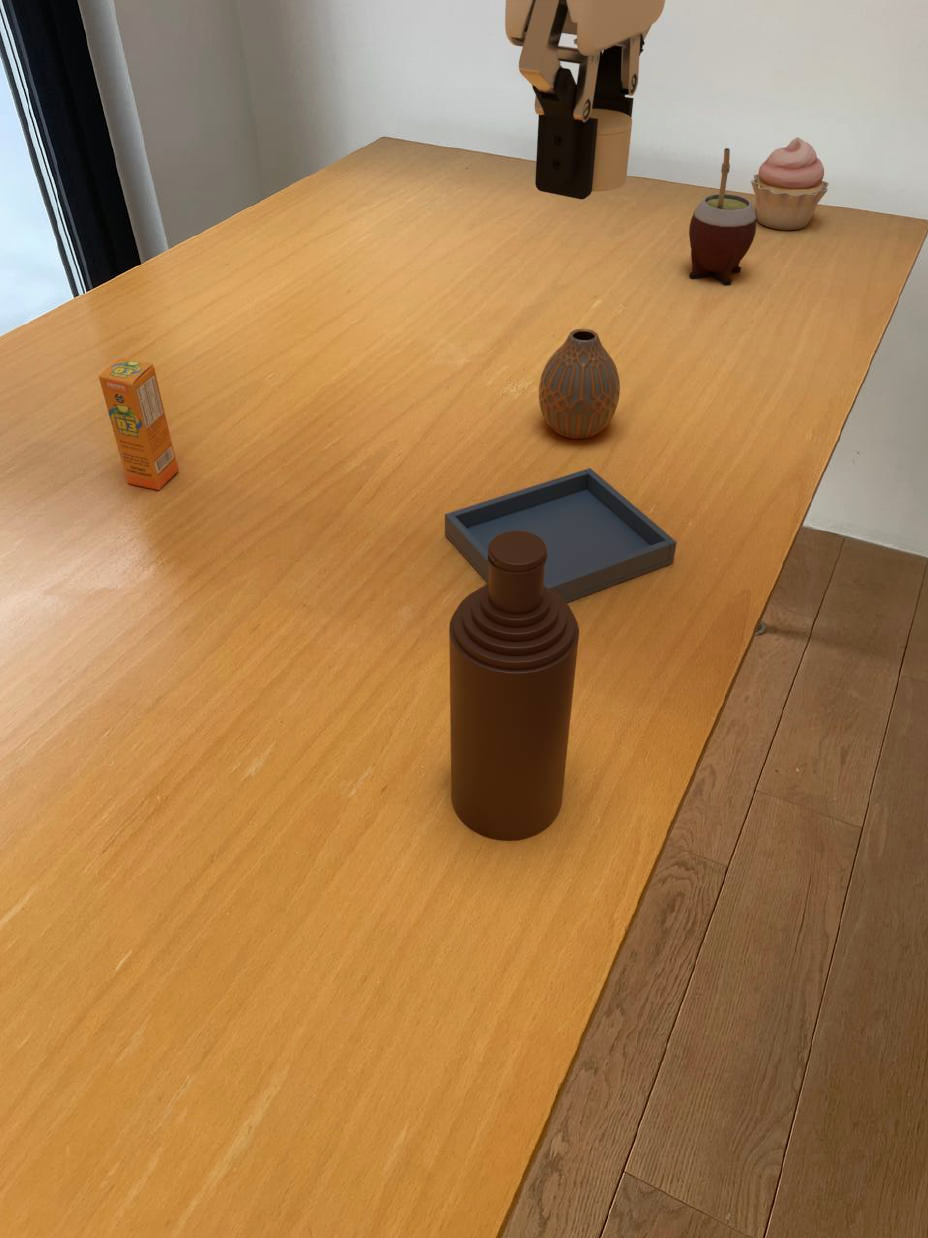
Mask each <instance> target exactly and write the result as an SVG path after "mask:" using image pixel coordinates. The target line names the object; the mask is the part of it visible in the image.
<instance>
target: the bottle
mask: <svg viewBox="0 0 928 1238" xmlns="http://www.w3.org/2000/svg"><path fill="white" fill-rule="evenodd" d="M487 556H488V562H489V583H486V584H483V586H481V587H479V588H477V589H476V590H474V591H472V592H471V593H469V594H468V595H467V596H465V598H463V599H462V600H461V601H460V603H459V604H458V606H457V608H456V609H455V611H454V612H453V614H452V615H451V617H450V621H449V627H448V635H449V636H448V637H449V638H448V641H449V643H448V644H449V712H450V713H449V720H450V721H449V723H450V724H449V725H450V730H449V731H450V792H451V793H450V795H451V804H452V807H453V809H454V811H455V813H456V815H457V816H458V818H459V819H460V821H461V822H462V823H463V824H464V825H466V827H468V828H469V829H470V830H472V831H473V832H475V833H477V834H479V835H481V836H484V837H487V838H490V839H494V840H500V841H519V840H522V839H523V840H524V839H527V838H530V837H533V836H535V835H537V834H539V833H541V832H543V831H545V829H547V828H548V827H549V826H551V824H552V823H553V822H554V821H555V819H556V818H557V816H558V815H559V812H560V811H561V807H562V803H563V795H564V794H563V793H564V784H565V775H566V765H567V757H568V746H569V738H570V737H569V736H570V727H571V717H572V716H571V715H572V707H573V696H574V688H575V687H574V686H575V679H576V678H575V677H576V668H577V659H578V658H577V657H578V647H579V639H580V627H579V623H578V620H577V618H576V616H575V615H574V612H573V610H572V608H571V607H570V605H569V604H568V603H566V602H565V601H564V600H563V599H562V598H561V597H559V596H558V595H557V594H555V593H554V592H552V591H551V590H549V589H548V588H547V587H545V586H544V571H545V563H546V560H547V556H548V554H547V549H546V546H545V543H544V542H543V540H542V539H541V538H539V537H538V536H537V535H535V534H532V533H529V532H525V531H508V532H504V533H501V534H499V535H497V536H496V537H495V538H494V539H493V540H492V541H491V542H490V543H489V546H488V554H487Z"/></svg>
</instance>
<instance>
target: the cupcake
mask: <svg viewBox="0 0 928 1238" xmlns="http://www.w3.org/2000/svg"><path fill="white" fill-rule="evenodd" d="M824 177H825V167H824V165H823V163H822V161H821V159H820V158H818V156H817V152H816V150H815V148H814V147H813V146H812V145H811V144H810V143H809V142H807V141H805V140H804V139H802V138H800V137H798V136H797V137H795V138H794V139H792V140H791V141H790V142H789V143H788V145H787V146H784V147H779V148H776V149H774V150H773V151H771V153H770V154H769V156H768V157H767V158H766V159H765V161H764V162H763V163H762V164H761V165H760V166H759V169H758V173H756V174H753V179H752V180H750V183H751V187H752V190H753V193H754V196H755V210H756V211H755V214H756V221H757V222H758V223H759V224H761V225H762V226H764V227H767V228H770V229H775V230H780V231H794V230H800V229H804V228H805V227H806V226H808V224H809V223H810V221H811V220H812V217H813V215H814V213H815V211H816V208H817V206H818V204H819V202H820V201H821V200H822V198H823V197H824V196H825V195H826V193H828V191H829V188H828V186H830V185H829V184H830V183H829V182H827V181H825V180H824Z"/></svg>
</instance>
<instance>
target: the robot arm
mask: <svg viewBox="0 0 928 1238" xmlns="http://www.w3.org/2000/svg"><path fill="white" fill-rule="evenodd" d="M665 3H666V0H505V9H504V11H505V13H504V29H505V35H506V38H507V39H508V41H509V42H510V44H512V45H513V46H515V47H522V49H521V52H520V56H519V61H518V70H519V73H520V74H521V75H522V77H524V79H526V81H527V82H528V83H529V84H530V85H531V87H532V90H533V92H534V94H535V98H534V111H535V114H536V115H538V122H537V140H536V141H537V142H536V162H535V177H534V179H535V180H534V184H535V187H536V189H537V190H538V191H539V192H542V193H548V194H552V195H557V196H562V197H566V198H567V197H568V198H572V199H576V200H585V199H587V198H588V197H589V196H590V195H591V194H592V192H593V191H592V184H593V172H594V160H595V149H596V137H597V126H598V119H596V118H590V115H591V111H592V109H606V110H612V111H618V112H621V113H624V114H627V115H628V116H630V117H631V118H632V117H633V109H634V108H633V107H634V99H635V98H634V97H633V96H634V95H635V93H636V91H637V89H638V84H639V74H640V73H639V72H640V56H641V54H642V53H643V52H644V50H645V49H644V46H645V44H646V43H645V39H646V38H647V35H648V34H649V32H650V29H651V28H652V26H653V25H654V24H655V23H656V22H657V21H658V20H659V19H660V17H661V16H662V13H663V11H664V7H665ZM562 34H565V35H573V36H576V38H575V39H573V43H574V45H576V47H572V46H566V45H565V46H564V45H560V41H561V37H562ZM561 63H569V64H576V65H578V70H577V79H576V80H575V78H574V75H573V73H572V70H571V69H570V68H567V67H563V66H562V65H561ZM632 119H633V118H632Z"/></svg>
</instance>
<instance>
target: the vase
mask: <svg viewBox="0 0 928 1238" xmlns="http://www.w3.org/2000/svg"><path fill="white" fill-rule="evenodd" d="M620 383H621V382H620V375H619V371H618V368H617V365H616V364H615V361H614V360H613V358H612V357H611V356H610V354H609V353H608V351H607V349H606V348H605V347H604V345H603V344H602V342H601V339H600V336H599V334H598V333H597V331H595V330H593V329H589V328H576V329H574V330H571V331H570V332H569V334H568V335H567V338H566V340H564V342H563V343H562V345H560V347H558V348H557V349H556V350H555V352H554V353H553V354H552V355H551V356H550V357H549V359H548V360H547V362H546V363H545V365H544V367H543V370H542V373H541V376H540V379H539V383H538V384H539V385H538V403H539V408H540V411H541V414H542V415H541V416H542V417H543V419H544V421H545V422H546V423H547V425H548V426H549V427H550V428H551V429H552V430H553V431H554V432H555V433H556V434H558V435H560V436H561V437H564V438H566V439H572V440H585V439H589V438H592V437H594V436H596V435H598V433H600V432H602V431H603V430H604V429H605V428H607V426H608V425H609V424H610V422H611V421H612V420H613V418H614V416H615V414H616V411H617V408H618V404H619V400H620V393H621V392H620V391H621V384H620Z"/></svg>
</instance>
